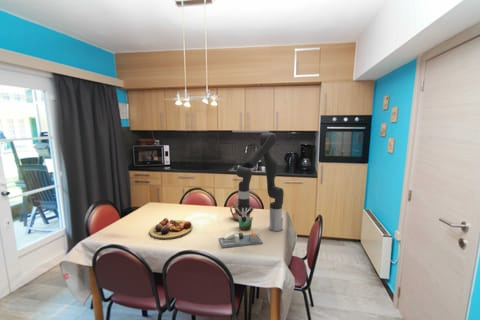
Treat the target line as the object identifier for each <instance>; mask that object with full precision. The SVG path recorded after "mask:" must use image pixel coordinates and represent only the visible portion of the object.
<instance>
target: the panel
mask: <svg viewBox="0 0 480 320" xmlns="http://www.w3.org/2000/svg"><path fill="white" fill-rule="evenodd" d="M218 241H219V244H220V247H221V249H228V248H237V247H246V246H254V245H255V246H256V245H262V244H263V241H262V239H261V238H260V236H259V235H258V233H257V237H251V233H248V234H243V238H242V239H239V242H238V243H235V236H234V237H232V238H230V239H228V240H225V239H224V236H223V237H218Z"/></svg>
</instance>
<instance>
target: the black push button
mask: <svg viewBox="0 0 480 320" xmlns="http://www.w3.org/2000/svg"><path fill="white" fill-rule="evenodd" d="M237 234H238V235H239V239H242V238H243V235H244V233H242V232H239V233H237Z"/></svg>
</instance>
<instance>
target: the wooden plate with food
mask: <svg viewBox="0 0 480 320" xmlns="http://www.w3.org/2000/svg"><path fill="white" fill-rule="evenodd" d="M193 227H194V226H193V224H192V222H191V221H188V220H181V219H174V220H173V219H170V220H169V219H168V218H167V217H165V218H163V220H161V221H160V222H159V223H157V224H155V225H153V226H152V227H151V228H150V229H149V233H148V234H149V236H151V237H152V238H154V239H156V240H164V239H166V240H172V239H173V240H174V239H178V238H181V237H184V236H187V235H188V234H189V233H191V232H192V231H193Z"/></svg>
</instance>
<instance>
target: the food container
mask: <svg viewBox="0 0 480 320" xmlns="http://www.w3.org/2000/svg"><path fill="white" fill-rule="evenodd" d="M238 219H239V220H238V228H239V229H240V230H242V231H249V230H250V231H251V230H252V222H253V220H254V218H253V216H250V217H247V216H246V221H245V222H242V220H241V219H242V217H240V216H239V215H238Z"/></svg>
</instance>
